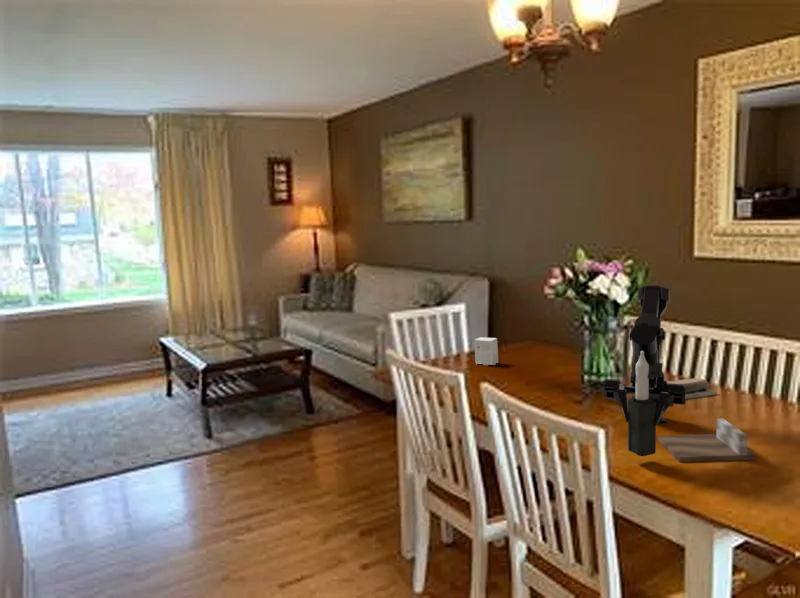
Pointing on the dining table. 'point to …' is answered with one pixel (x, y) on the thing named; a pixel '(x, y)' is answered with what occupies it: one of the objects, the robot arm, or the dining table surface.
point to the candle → (642, 414)
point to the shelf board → (710, 445)
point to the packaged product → (695, 388)
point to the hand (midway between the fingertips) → (641, 423)
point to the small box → (486, 351)
